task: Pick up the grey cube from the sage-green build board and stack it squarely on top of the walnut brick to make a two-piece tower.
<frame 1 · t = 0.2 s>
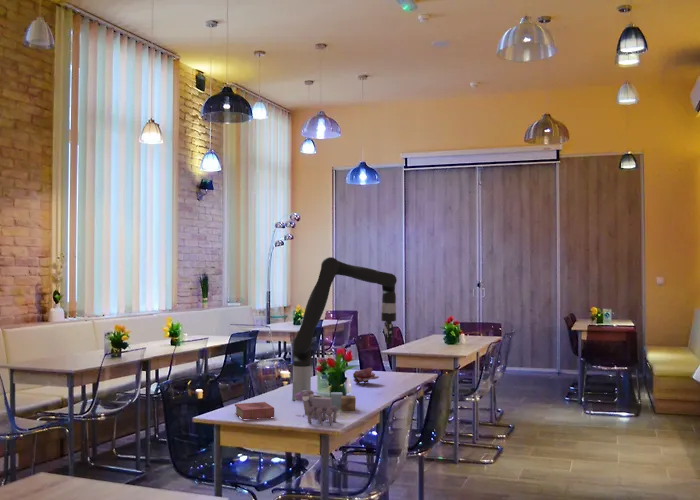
hand: (388, 343, 368), 29 cm above the table, fingers open, 8 cm apart
grey cube: (336, 405, 344), point 1 cm above the table, touching build board
build board: (342, 410, 339), on the table
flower: (365, 384, 414), on the table
walnut brick: (348, 409, 334), point 1 cm above the table, touching build board
book: (254, 417, 323), on the table
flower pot: (311, 416, 324), on the table
toy sheep: (314, 422, 312), on the table
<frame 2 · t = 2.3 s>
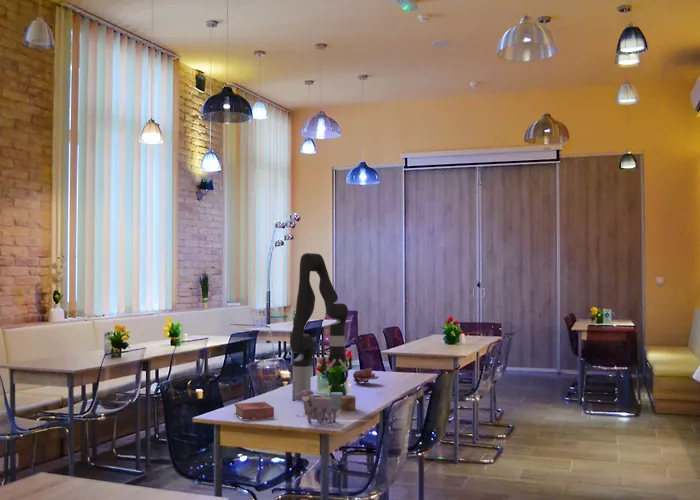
hand: (337, 378, 344), 14 cm above the table, fingers open, 8 cm apart
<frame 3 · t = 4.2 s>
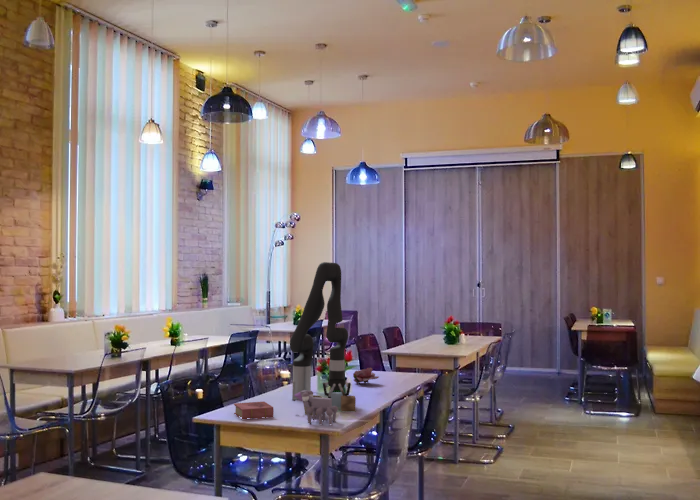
hand: (336, 404, 344), 2 cm above the table, fingers closed on grey cube, 5 cm apart
grey cube: (336, 405, 344), point 1 cm above the table, touching build board, gripper
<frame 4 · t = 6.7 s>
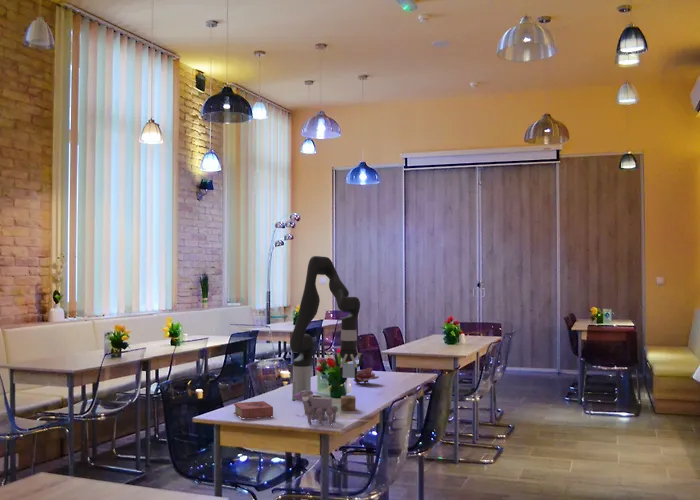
hand: (348, 375, 335), 17 cm above the table, fingers closed on grey cube, 5 cm apart
grey cube: (348, 376, 335), point 16 cm above the table, touching gripper
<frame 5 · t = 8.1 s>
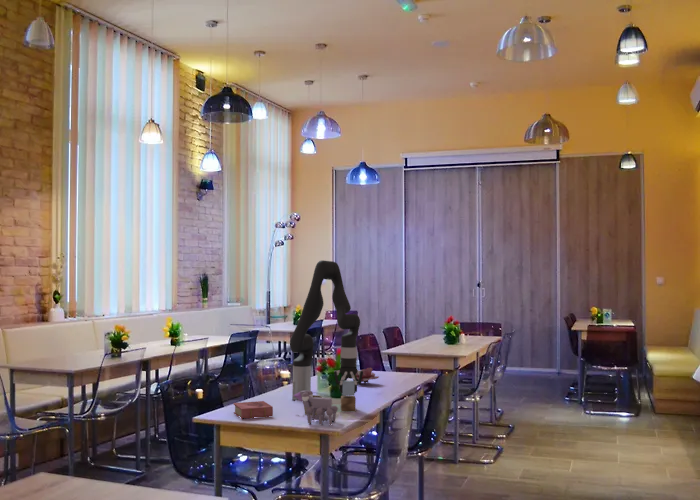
hand: (348, 392, 335), 9 cm above the table, fingers closed on grey cube, 5 cm apart
grey cube: (348, 394, 335), point 8 cm above the table, touching gripper
when the fingers open (9 cm above the table, at t = 9.0 s): grey cube stays where it is, resting on walnut brick.
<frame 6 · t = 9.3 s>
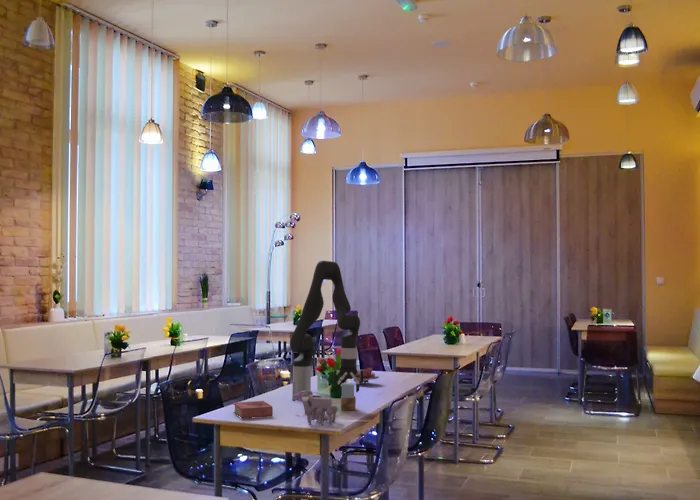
hand: (348, 392, 335), 9 cm above the table, fingers open, 8 cm apart
grey cube: (347, 397, 335), point 7 cm above the table, touching walnut brick
walnut brick: (348, 409, 334), point 1 cm above the table, touching grey cube, build board
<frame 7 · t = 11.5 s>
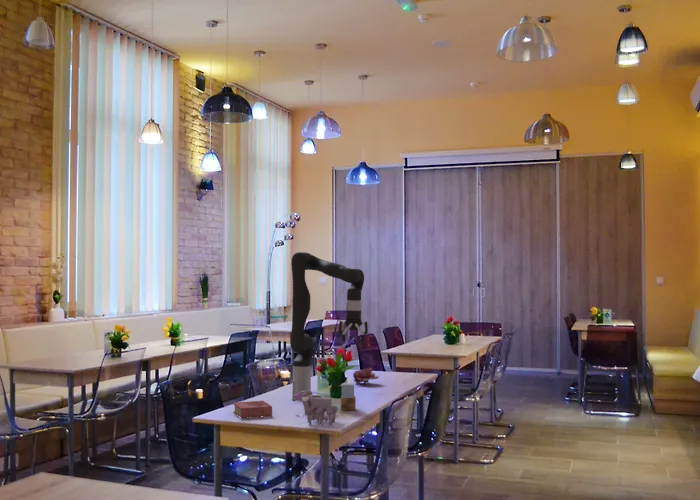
hand: (352, 342, 351), 31 cm above the table, fingers open, 8 cm apart
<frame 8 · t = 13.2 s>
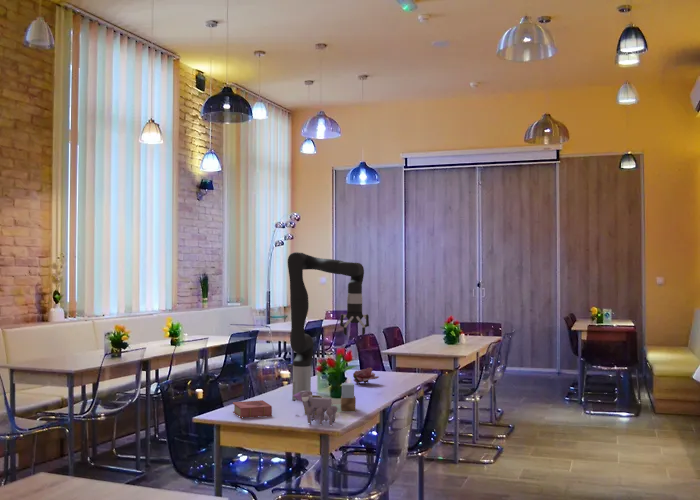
hand: (354, 335, 355), 34 cm above the table, fingers open, 8 cm apart
at the end: grey cube 0.2 cm off-centre on the walnut brick, point 6.0 cm above the walnut brick's base; grey cube tilted 0°; walnut brick moved 0.0 cm from its start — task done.
